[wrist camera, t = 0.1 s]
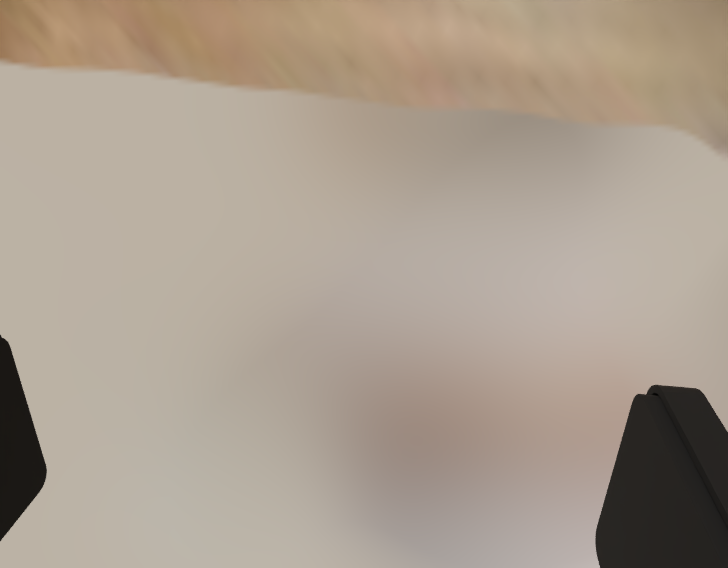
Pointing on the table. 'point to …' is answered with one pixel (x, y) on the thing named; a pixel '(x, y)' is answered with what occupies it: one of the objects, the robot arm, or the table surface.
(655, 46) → the table surface
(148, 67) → the table surface
